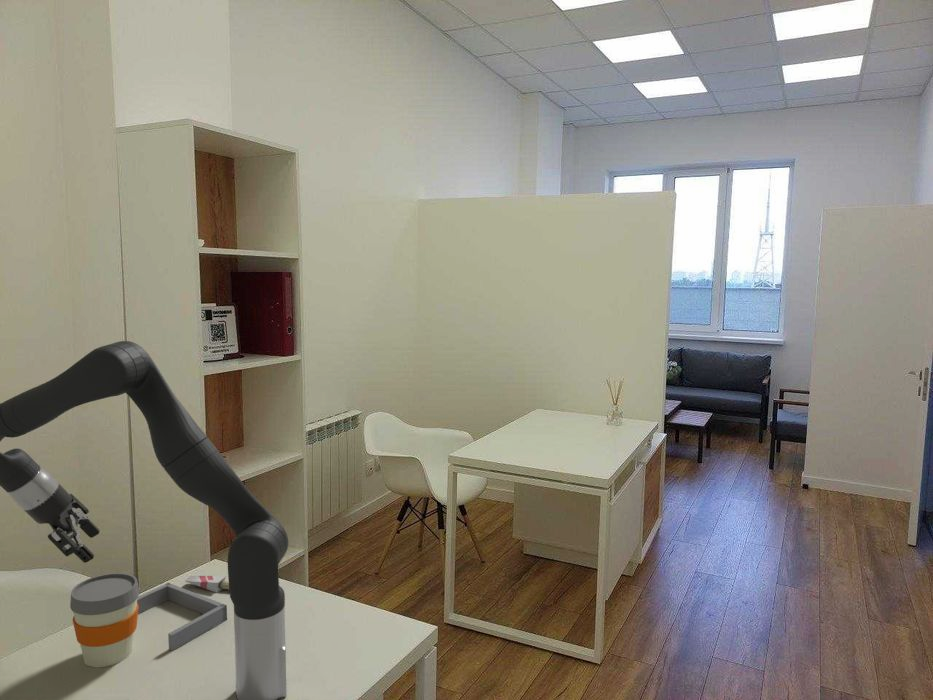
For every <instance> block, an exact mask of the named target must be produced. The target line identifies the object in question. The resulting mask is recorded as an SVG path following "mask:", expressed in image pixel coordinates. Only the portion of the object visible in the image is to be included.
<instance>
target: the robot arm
mask: <svg viewBox="0 0 933 700" xmlns="http://www.w3.org/2000/svg"><path fill="white" fill-rule="evenodd" d="M124 394H125V395H127V396H128V397H129V398H130V399H131V400H132V401H133V403H134V404H135V406H136V407H137V408H138V409H139V411H140V412H141V413H142V415H143V417H144V419H145V421H146V424H147V428H148V430H149V435H150V440H151V444H152V447H153V452H154V454H155V457H156V459H157V461H158V463H159V464H160V466H161V467H162V468H163V469H164V471H165V472H166V474H167V475H168V476H169V477H170V478H171V479H172V481H173V482H174V483H175V484H176V486H177V487H178V488H179V489H180V490H182V492H184V493H186V494H187V495H188V496H190V497H192V498H194V499H195V500H196V501H198V502H200V503H202V504H204V505H205V506H208V507H209V508H210V509H212V510H213V511H215V512H216V513H217V514H219V516H221V517H222V519H223V520H224V521H225V522H226V524H228V526H229V528H230V529H231V530H232V532H233V533H234V534H235V537H236V538H235V539H233V540H232V543H231V544H230V546H229V549H228V553H227V575H228V578H227V579H228V582H229V590H228V591H229V592H228V593H229V598H230V600H231V602H232V604H233V622H234V626H233V627H234V656H235V657H234V658H235V659H234V663H235V666H234V667H235V690H236V692H235V693H236V699H237V700H278V699H280V698H285V697H287V657H286V656H287V654H286V653H287V652H286V650H287V649H286V648H287V647H286V642H287V641H286V608H285V607H286V599H285V597H286V596H285V595H286V594H285V590H284V588H282V586H281V585H280V582H279V581H280V579H279V565H280V563H281V561H282V559H284V557H285V555H286V553H287V551H288V548H289V537H288V534H287V532H286V529H285V528H284V526H283V525H282V524H281V522H280V521H278V520H277V518H276V517H275V516H274V515H273V514H272V513H271V512H270V511H269V510H268V509H267V508H266V507H265V506H264V505H263V504H262V503H261V502H260V501H259V500H258V499H257V498H256V497H255V496H254V495H253V494H252V493H251V491H250V490H249V488H248V487H247V486H246V485H245V484H244V482H243V481H242V480H241V479H240V477H239V476H238V474H237V473H236V472H235V471H234V470H233V468H232V467H231V466H230V464H229V463H228V462H227V461H226V459H225V458H224V457H223V456H222V454H221V452H220V451H219V450H218V448H217V447H216V446H215V445H214V443H213V442H212V441H211V440H210V438H209V437H208V435H207V434H206V433H205V432H204V431H203V430H202V429H201V427H200V426H199V425H198V423H197V422H196V421H195V420H194V419H193V417H192V416H191V414H190V413H189V412H188V410H187V409H186V408H185V406H184V405H183V404H182V403H181V402H180V400H179V399H178V398H177V396H176V395H175V393H174V392H173V391H172V389H171V387H170V386H169V384H168V383H167V381H166V378H165V377H164V376H163V375H162V373H161V371H160V369H159V368H158V366H157V365H156V363H155V362H154V360H153V358H152V357H151V356H150V354H149V353H148V352H147V350H145V349H144V348H143V347H142V346H141V345H139V344H138V343H135V342H134V341H130V340H121V341H117V342H113V343H109V344H107V345H102V346H100V347H99V346H98V347H97V348H94V349H92V350H91V351H89V353H87V354H85V356H83V357H82V358H81V359H79V360H78V361H76V362H75V363H74V364H73V365H71V366H70V367H68V368H67V369H66V370H64V371H63V372H62V373H59V375H56V376H55V377H54V378H52V379H50V380H48V381H45V382H44V383H41V384H39V385H38V386H37V385H36V386H35V387H32V388H30V389H28V390H25V391H23V392H21V393H19V394H17V395H15V396H13V397H11V398H8V399H6V400H5V401H3V402H0V442H1V441H2V440H3V439H5V438H13V439H14V438H18V437H22V436H24V435H27V434H28V433H31V432H32V431H35V430H37V429H39V428H41V427H43V426H45V425H46V424H48V423H50V422H52V421H53V420H56V419H57V418H58V417H60V416H61V415H63V414H64V413H66V412H68V411H70V410H71V409H73V408H76V407H79V406H82V405H85V404H87V403H91V402H95V401H98V400H102V399H107V398H111V397H118V396H121V395H124ZM0 487H1V488H2V489H3V490H4V491H5V492H6V493H7V494H8V495H9V496H10V498H11V499H12V500H13V501H14V502H15V503H16V504H17V505H18V506H19V508H21V509H22V510H23V511H24V512H25V513H26V514H27V515H29V517H30V518H31V519H32V520H34V521H35V522H36V523H37V524H40V525H43V524H47V525H49V526H50V527H51V529H52V530H53V531H52V532H51V533H49V534H48V535H47V539H48V540H49V541H51V543H52V544H53V545H54V546H55V547H57V549H58V550H59V551H61V553H62V554H63V555H64V556H65V557H69V556H71V555H73V554H74V555H75V556H76V557H77V558H79V560H81V562H82V563H88V562H90V561H91V560H93V559H94V558H95V554H94V553H93V552H92V551H91V550H90V549H89V548H88V547H87V546H86V545H85V544H84V543H83V542H82V540H81V538H80V535H81V532H80V530H79V528H80V529H81V530H82V531H83V533H85V534H86V535H87V536H88V538H91V539H92V538H94V537H97V536H98V535H99V534H100V529H99V528H98V527H97V526H96V525H95V524H94V522H92V521H91V520H90V518H91V517H90V515H88V514H89V513H90V510H89V509H88V508H87V507H86V506H85V505H84V504H83V503H82V502H81V501H80V500H79V499H78V498H77V497H76V496H75V495H73V494H72V493H69V492H68V491H67V490H66V489H65V488H64V487H63V486H62V485H61V484H60V483H59V482H58V481H57V480H56V479H55V478H54V477H53V476H52V474H50V473H49V472H48V471H46V470H45V469H43V467H41V466H40V465H39V464H38V463H37V462H36V461H35V460H34V459H33V458H32V457H31V456H30V454H28V452H26V451H24V450H23V449H21V448H12V449H9V450H7V451H5V452H4V453H3V452H1V451H0ZM79 509H80V510H79ZM78 526H79V528H78Z"/></svg>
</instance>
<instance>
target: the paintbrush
mask: <svg viewBox="0 0 933 700" xmlns="http://www.w3.org/2000/svg"><path fill="white" fill-rule="evenodd" d="M226 578H227V575H190V576H189V577H187V578H186V579H185V580H184V583H189V584H190V585H191V584H192V585H193V586H196V587H200V588H203V589H205V590H208V591H210V592H213V593H219V592H220V591H221V590H228V591H229V580H228V581H226Z"/></svg>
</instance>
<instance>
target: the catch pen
mask: <svg viewBox="0 0 933 700" xmlns="http://www.w3.org/2000/svg"><path fill="white" fill-rule="evenodd" d="M166 601H170V602H173V603H175V604H177V605H180V606H183V607H185V608H188V609H190V610H193V611H195V612H197V613H200V614H202V615H200V616H198V617H196V618H194V619H192V620H191V621H189V622H187V623H185V624H184V625H181V626H179V627H177V628H176V629H174V630H173V631H171V632H169V633H168V634H167V635H168V638H167V639H168V649H169V650H170V651H172V652H173V651H174V650H177V649H179V647H181V646H183V645H185V644H187V643H188V642H190V641H192V640H194V639H196V638H198V637H199V636H201V635H202V634H204V633H206V632H209V631H210V630H211V629H214V628H215V627H217V626H218V625H221V624H222V623H224V622H225V621H227V620H228V606H227V604H224V603H221V602H219V601H216V600H214V599H213V598H212V599H211V598H210V597H207V596H204V595H201V594H198V593H196V592H192V591H191V590H188V589H186V588H183V587H181V586H178V585H175V584H173V583H170V582H167V583H165V584H163V585H160V586H158V587H156V588H154V589H152V590H150V591H148V592H146V593H144V594H141V595H139V596H138V598H137V603H138V606H139V607H138V615H139V614H141V613H143V612H145V611H148V610H149V609H153V608H154V607H156V606H157V605H160V604H162V603H164V602H166Z"/></svg>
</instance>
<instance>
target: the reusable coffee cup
mask: <svg viewBox="0 0 933 700" xmlns="http://www.w3.org/2000/svg"><path fill="white" fill-rule="evenodd" d="M139 596H140V589H139V583H138V579H137V577H136V576H134V575H133V574H129V573H126V572H125V573H124V572H113V573H105V574H100V575H96V576H93V577H90V578H87V579H85V580H83V581H81V582H79V583H77V584H76V585H75V586H74V587H73V588H72V590H71V592H70V603H69V604H70V605H69V607H70V610H71V611H72V613H73V617H72V624H73V628H74V632H75V637H76V642H77V643H78V644H80V645H79V646H80V648H81V649H80V650H81V654H82V658H83V662H84V664H85V665H87V666H88V665H89V666H88V667H91V666H92V668H103V667H109V666H113V665H116V664H118V662H119V663H121V662H123V661H124V660H126V659H127V658H128V657H129V656H130V655H131V654H132V652H133V644H134V636H135V631H136V630H137V625H138V617H139V614H138V607H139V606H138V603H137V598H138V597H139ZM115 663H116V664H115Z"/></svg>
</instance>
